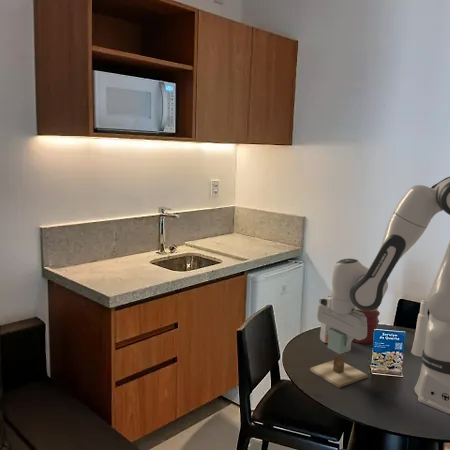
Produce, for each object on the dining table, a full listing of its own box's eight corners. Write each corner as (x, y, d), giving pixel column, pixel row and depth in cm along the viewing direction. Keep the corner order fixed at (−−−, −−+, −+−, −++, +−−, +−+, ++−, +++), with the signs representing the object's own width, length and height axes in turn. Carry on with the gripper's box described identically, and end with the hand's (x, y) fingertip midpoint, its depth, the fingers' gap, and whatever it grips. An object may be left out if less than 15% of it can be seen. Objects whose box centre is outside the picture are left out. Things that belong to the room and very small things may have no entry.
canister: (353, 345, 196) (357, 303, 192) (340, 332, 208) (343, 293, 205) (383, 343, 198) (387, 302, 195) (367, 330, 211) (371, 292, 208)
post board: (366, 377, 170) (368, 359, 169) (339, 387, 162) (340, 368, 161) (337, 361, 181) (338, 344, 180) (309, 370, 174) (310, 352, 172)
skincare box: (324, 343, 197) (326, 315, 195) (319, 339, 201) (321, 311, 199) (337, 342, 198) (340, 314, 196) (332, 337, 202) (334, 310, 200)
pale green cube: (350, 350, 169) (352, 332, 168) (339, 354, 166) (341, 335, 165) (338, 344, 174) (340, 327, 173) (327, 347, 171) (328, 330, 170)
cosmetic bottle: (430, 354, 190) (436, 300, 186) (422, 358, 186) (428, 304, 182) (415, 349, 194) (421, 296, 190) (407, 353, 190) (413, 299, 186)
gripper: (373, 312, 160) (369, 351, 163) (328, 294, 177) (325, 330, 180) (360, 316, 157) (356, 356, 159) (315, 297, 173) (312, 333, 176)
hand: (339, 342), depth 170 cm, fingers closed on pale green cube, 6 cm apart
